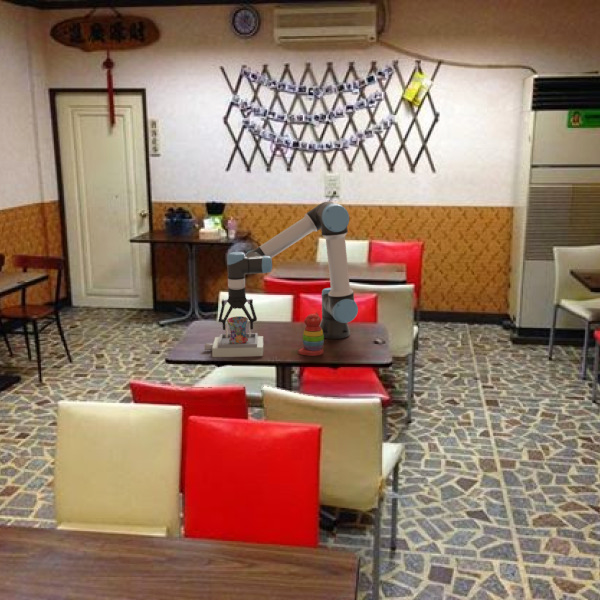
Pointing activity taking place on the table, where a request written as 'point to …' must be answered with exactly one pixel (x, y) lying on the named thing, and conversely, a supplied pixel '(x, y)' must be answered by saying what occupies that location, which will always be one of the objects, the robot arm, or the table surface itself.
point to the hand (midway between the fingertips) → (238, 336)
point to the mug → (237, 329)
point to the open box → (236, 346)
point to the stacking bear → (312, 336)
